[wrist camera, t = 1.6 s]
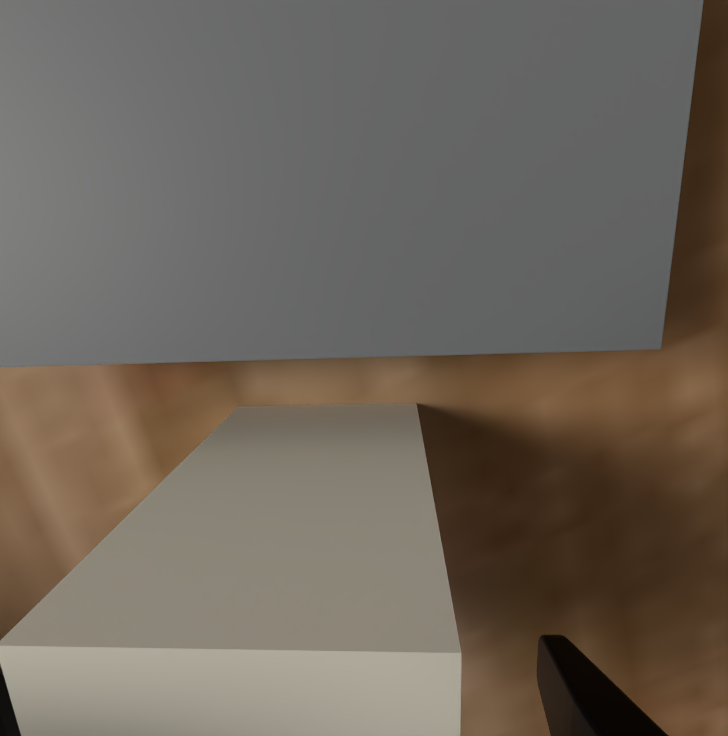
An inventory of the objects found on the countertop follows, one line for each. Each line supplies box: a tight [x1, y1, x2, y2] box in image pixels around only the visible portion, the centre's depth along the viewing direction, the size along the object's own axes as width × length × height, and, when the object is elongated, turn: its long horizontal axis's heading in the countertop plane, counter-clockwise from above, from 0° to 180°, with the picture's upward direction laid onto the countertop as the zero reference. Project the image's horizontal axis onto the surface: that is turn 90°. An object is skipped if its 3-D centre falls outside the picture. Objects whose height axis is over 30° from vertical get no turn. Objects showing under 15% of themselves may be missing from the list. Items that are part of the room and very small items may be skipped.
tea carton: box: [0, 403, 461, 736], centre depth 9 cm, size 6×5×8 cm
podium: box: [0, 0, 703, 367], centre depth 9 cm, size 12×14×3 cm
